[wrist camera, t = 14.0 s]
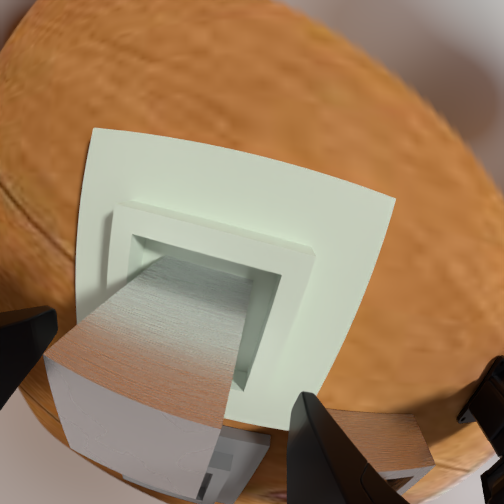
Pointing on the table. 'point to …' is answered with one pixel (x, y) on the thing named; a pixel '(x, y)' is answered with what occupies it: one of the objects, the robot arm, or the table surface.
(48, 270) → the table surface
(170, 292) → the steel peg
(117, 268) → the pale green socket
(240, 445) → the charcoal socket
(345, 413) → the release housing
